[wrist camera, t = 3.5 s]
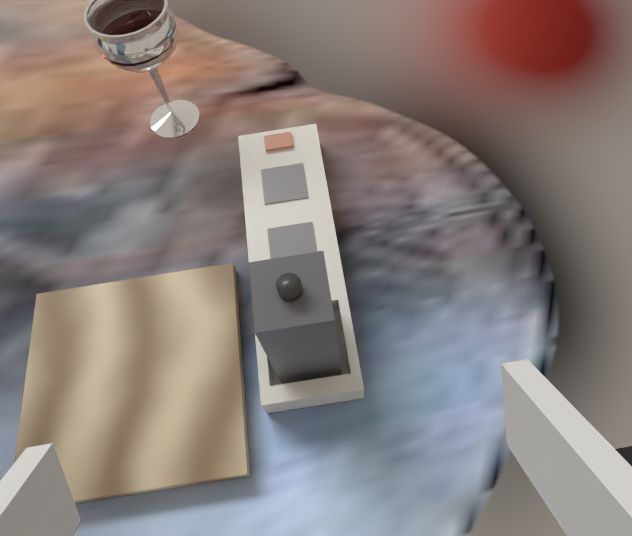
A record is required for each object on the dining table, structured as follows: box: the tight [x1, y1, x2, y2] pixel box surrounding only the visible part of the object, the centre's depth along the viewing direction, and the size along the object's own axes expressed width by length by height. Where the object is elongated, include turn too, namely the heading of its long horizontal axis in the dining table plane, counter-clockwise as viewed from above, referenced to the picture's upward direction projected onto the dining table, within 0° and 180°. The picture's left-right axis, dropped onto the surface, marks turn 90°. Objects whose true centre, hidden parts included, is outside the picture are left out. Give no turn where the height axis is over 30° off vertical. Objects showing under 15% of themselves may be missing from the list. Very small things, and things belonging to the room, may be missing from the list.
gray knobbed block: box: [249, 251, 342, 384], centre depth 34 cm, size 4×4×11 cm
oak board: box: [14, 263, 251, 503], centre depth 39 cm, size 16×16×1 cm
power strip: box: [238, 124, 364, 413], centre depth 41 cm, size 7×24×3 cm, turn 8°
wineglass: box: [84, 0, 200, 138], centre depth 46 cm, size 7×7×12 cm
